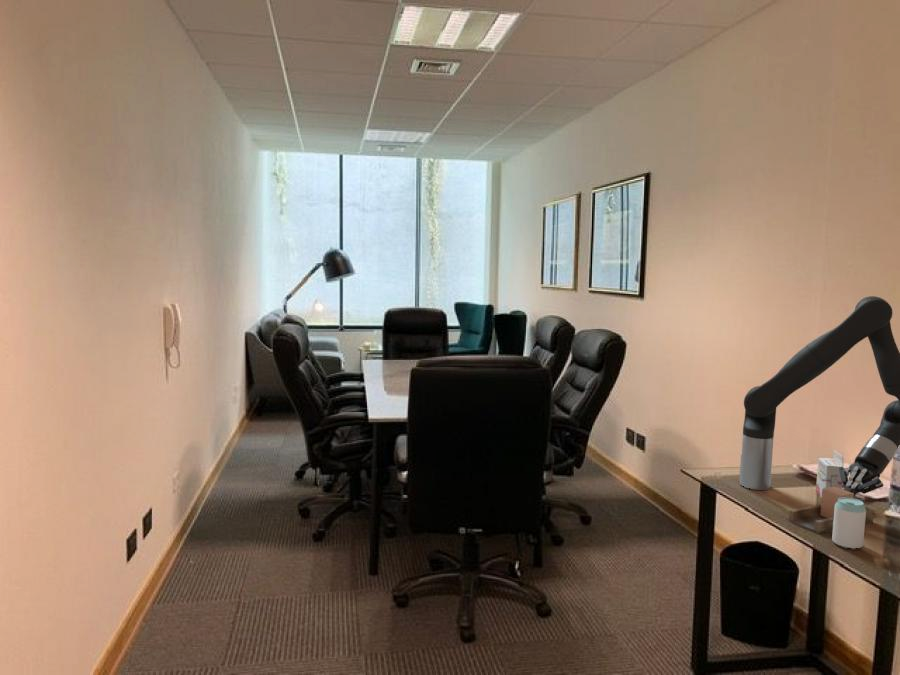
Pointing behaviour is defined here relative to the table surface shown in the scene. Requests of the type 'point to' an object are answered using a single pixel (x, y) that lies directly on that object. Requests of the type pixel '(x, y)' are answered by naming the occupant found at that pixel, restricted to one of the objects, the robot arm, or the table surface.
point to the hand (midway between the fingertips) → (844, 499)
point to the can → (849, 523)
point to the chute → (817, 519)
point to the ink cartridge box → (829, 473)
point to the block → (832, 500)
